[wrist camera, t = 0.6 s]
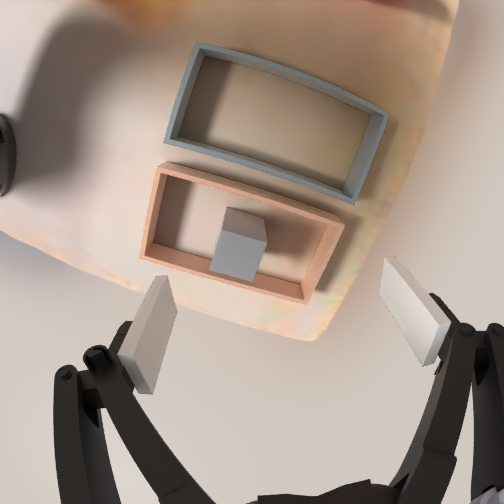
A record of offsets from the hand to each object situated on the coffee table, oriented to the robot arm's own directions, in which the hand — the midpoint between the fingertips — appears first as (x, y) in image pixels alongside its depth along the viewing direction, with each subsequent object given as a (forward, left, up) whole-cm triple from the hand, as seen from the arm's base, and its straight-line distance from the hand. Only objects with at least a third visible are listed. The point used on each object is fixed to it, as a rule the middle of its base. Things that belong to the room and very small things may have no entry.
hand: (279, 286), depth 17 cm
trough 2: (-1, -5, -21) cm, 22 cm away
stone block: (-1, -5, -22) cm, 22 cm away
